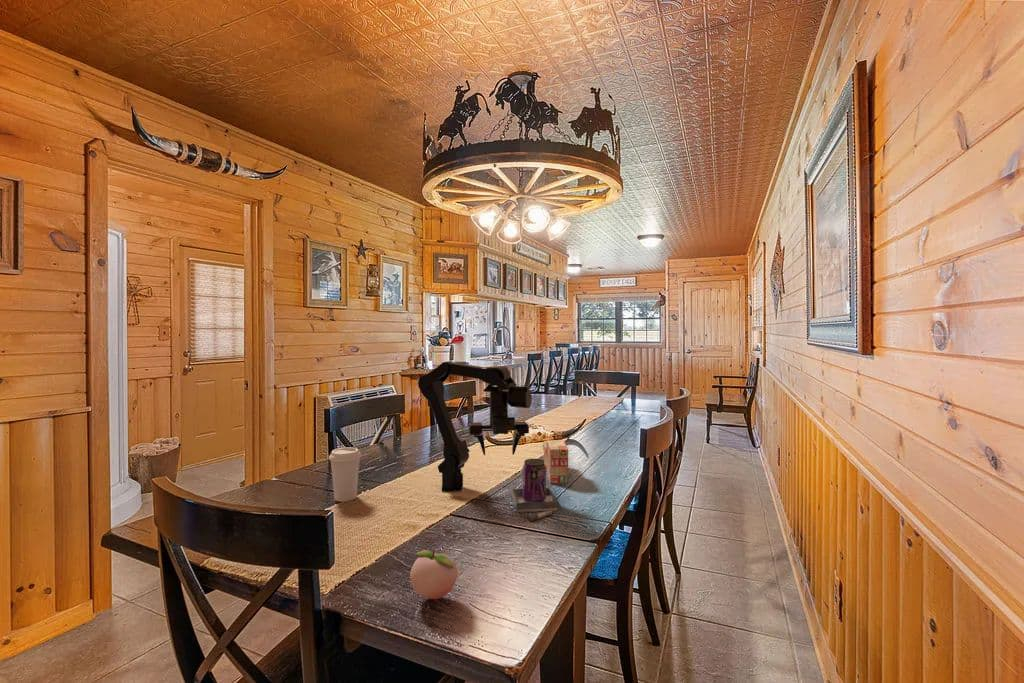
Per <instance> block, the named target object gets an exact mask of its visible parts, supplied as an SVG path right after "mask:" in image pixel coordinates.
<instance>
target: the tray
mask: <svg viewBox="0 0 1024 683" xmlns="http://www.w3.org/2000/svg"><path fill="white" fill-rule="evenodd" d="M511 499H512V502H513V505H514V509H515V512H517V513H520V512H522V513H524V512H544V511H547V510H552V511H558V508H559V507H558V504H559V503H558V502H559V501H558V499H557V498H556V497H555V495H554V493H553V491H552V489H551V488H550V487H546V499H545V500H543V501H541V502H528V501H526V500H524V499H523V488H511Z"/></svg>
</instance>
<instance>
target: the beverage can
mask: <svg viewBox="0 0 1024 683" xmlns="http://www.w3.org/2000/svg"><path fill="white" fill-rule="evenodd" d="M546 488H547V473H546V466H545V464H544V459H540V458H528V459H525V460H524V464H523V465H522V489H523V499H524V500H526V501H528V502H541V501H543V500H545V499H546Z"/></svg>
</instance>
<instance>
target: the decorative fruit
mask: <svg viewBox="0 0 1024 683" xmlns="http://www.w3.org/2000/svg"><path fill="white" fill-rule="evenodd" d="M415 555H416V556H418V557H417V558H416V560H415V561H414V563H412V564H413V565H412V567H411V570H410V574H409V578H410V583H411V585H412V587H413V590H414V591H415V592H416V593H417V594H418V595H419V596H421V597H423V598H428V599H431V600H439V599H442V598H443V597H445V596H446V595H448V594H449V593H450V592H451V591H452V589H453V588H454V587H455V585H456V582H457V578H458V568H457V564H456V562H455V561H454V560H453V559H452V558H451V557H450V556H448V555H446V554H438V553H436V552H435V549H432V551H431V550H428V549H427V550H425V549H424V550H421V551H418V552H416V553H415Z"/></svg>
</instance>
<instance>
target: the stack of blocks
mask: <svg viewBox="0 0 1024 683" xmlns="http://www.w3.org/2000/svg"><path fill="white" fill-rule="evenodd" d="M542 444H543V447H542V450H543V460H544V464H545V466H546V472H547V473H546V476H547V479H548V478H549V479H548V482H549V484H550V483H552V484H551V485H559V484H560V483H561V484H560V485H562V483H569V448H568V446H567V445H566V442H564V440H562V439H561V440H559V439H558V440H557V439H555V440H548V439H547V440H546V442H543V443H542ZM553 483H554V484H553Z"/></svg>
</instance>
